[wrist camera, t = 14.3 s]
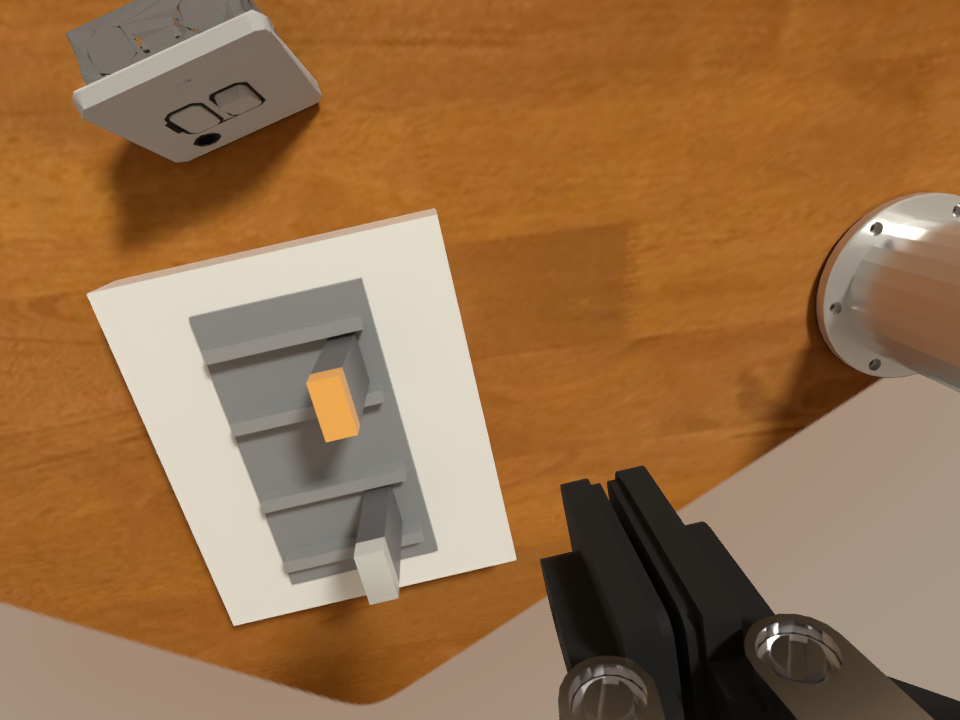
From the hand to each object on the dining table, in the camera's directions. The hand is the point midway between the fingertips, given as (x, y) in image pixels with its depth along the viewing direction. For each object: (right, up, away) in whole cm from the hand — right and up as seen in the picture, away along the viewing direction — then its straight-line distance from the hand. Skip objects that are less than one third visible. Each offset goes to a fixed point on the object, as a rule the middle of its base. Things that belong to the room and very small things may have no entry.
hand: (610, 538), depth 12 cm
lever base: (-13, 0, +30) cm, 32 cm away
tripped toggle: (-10, +4, +24) cm, 27 cm away
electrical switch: (-17, +19, +23) cm, 34 cm away
